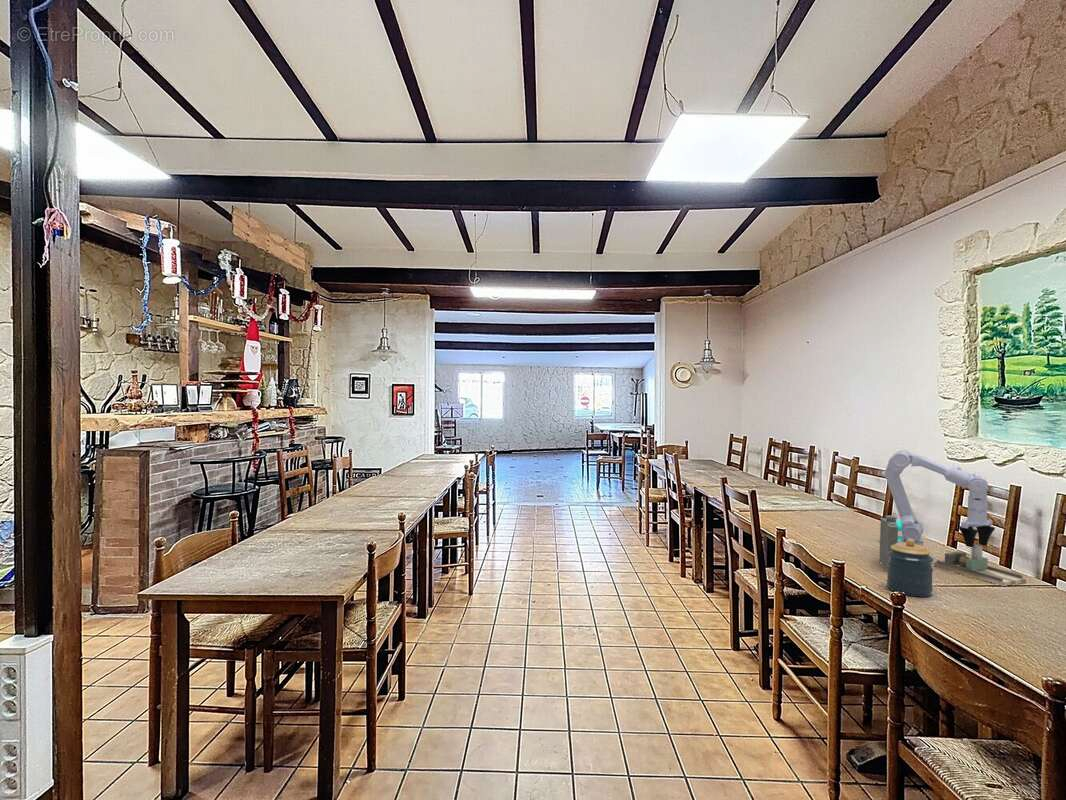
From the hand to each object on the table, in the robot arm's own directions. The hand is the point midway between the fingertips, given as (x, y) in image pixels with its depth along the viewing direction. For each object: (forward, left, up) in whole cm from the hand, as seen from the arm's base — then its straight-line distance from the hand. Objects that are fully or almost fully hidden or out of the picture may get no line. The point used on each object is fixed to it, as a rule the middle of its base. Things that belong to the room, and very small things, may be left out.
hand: (976, 545), depth 210 cm
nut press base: (0, -1, -10) cm, 10 cm away
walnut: (0, +3, -7) cm, 8 cm away
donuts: (+10, +39, -11) cm, 42 cm away
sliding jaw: (0, 0, -9) cm, 9 cm away
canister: (-42, -5, -11) cm, 44 cm away
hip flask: (-25, +15, -11) cm, 31 cm away
